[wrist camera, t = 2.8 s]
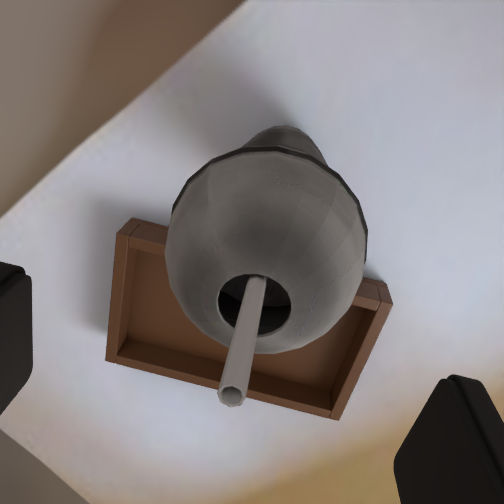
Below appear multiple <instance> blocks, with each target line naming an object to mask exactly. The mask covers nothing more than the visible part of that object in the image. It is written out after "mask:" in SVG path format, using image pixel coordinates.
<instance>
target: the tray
mask: <svg viewBox="0 0 504 504" xmlns="http://www.w3.org/2000/svg"><path fill="white" fill-rule="evenodd" d="M168 229H169V227H167V226H163V225H159V224H155V223H151V222H147V221H143V220H140V219H136V218H131V219H130V220H129V221H128V222H127V223H126V224H125V225H124V226H123V227H122V228H121V229H120V230H119V231H118V232H117V234H116V245H115V257H114V268H113V279H112V290H111V301H110V313H109V324H108V335H107V346H106V358H105V361H108V362H112V363H116V364H119V365H123V366H127V367H131V368H135V369H139V370H143V371H147V372H150V373H154V374H158V375H162V376H166V377H170V378H174V379H178V380H182V381H185V382H189V383H193V384H197V385H201V386H205V387H209V388H213V389H217V390H218V388H219V385H220V381H221V377H222V374H223V370H224V366H225V363H226V359H227V355H228V352H229V348H228V347H226V346H224V345H223V344H221V343H219V342H217V341H216V340H214V339H212V338H210V337H209V336H207V335H205V334H204V333H203V332H202V331H201V330H200V329H199V328H198V327H197V326H196V325H195V324H194V323H193V322H192V321H191V320H190V319H189V318H188V317H187V316H186V315H185V314H184V312H183V310H182V308H181V306H180V304H179V302H178V301H177V299H176V297H175V295H174V293H173V291H172V289H171V288H170V283H169V278H168V272H167V266H166V260H165V254H164V252H165V246H166V241H167V235H168ZM392 306H393V302H392V299H391V296H390V293H389V290H388V287H387V284H386V283H383V282H379V281H375V280H371V279H368V278H364V277H362V281H361V283H360V285H359V287H358V290H357V292H356V294H355V297H354V299H353V301H352V303H351V305H350V307H349V309H348V310H347V312H346V313H345V314H344V315H343V316H342V317H341V318H340V319H339V320H338V321H337V323H336V324H335V325H334V326H333V327H332V328H331V329H330V330H329V331H328V332H327V333H325V334H324V335H323V336H321V337H319V338H317V339H316V340H314V341H312V342H310V343H308V344H307V345H305V346H303V347H301V348H297V349H293V350H289V351H285V352H280V353H276V354H254V355H253V361H252V366H251V372H250V377H249V383H248V389H247V394H246V397H248V398H251V399H255V400H259V401H263V402H267V403H271V404H275V405H279V406H283V407H286V408H290V409H294V410H298V411H302V412H306V413H310V414H314V415H317V416H321V417H325V418H330V419H333V420H337V421H339V419H340V417H341V415H342V413H343V411H344V409H345V407H346V404H347V402H348V400H349V398H350V396H351V394H352V392H353V389H354V387H355V385H356V383H357V381H358V379H359V377H360V374H361V372H362V370H363V368H364V366H365V364H366V362H367V359H368V357H369V355H370V353H371V351H372V349H373V347H374V344H375V342H376V340H377V338H378V336H379V334H380V332H381V330H382V327H383V325H384V323H385V321H386V319H387V317H388V315H389V312H390V310H391V308H392Z"/></svg>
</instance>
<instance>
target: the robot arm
mask: <svg viewBox="0 0 504 504" xmlns="http://www.w3.org/2000/svg"><path fill="white" fill-rule="evenodd" d="M32 368H33V342H32V281H31V277H30V276H28V275H26V274H25V270H24V268H22V267H20V266H16V265H12V264H8V263H4V262H0V415H1V414H2V412H3V411H4V410H5V409H6V407H7V406H8V405H9V404H10V402H11V401H12V400H13V399H14V397H15V396H16V395H17V394H18V392H19V391H20V390H21V388H22V387H23V386H24V385H25V383H26V382H27V381H28V379H29V377H30V375H31V372H32ZM394 474H395V479H396V483H397V488H398V492H399V497H400V501H401V504H504V423H503V421H502V419H501V417H500V415H499V413H498V411H497V410H496V408H495V406H494V404H493V402H492V400H491V398H490V396H489V395H488V393H487V391H486V389H485V387H484V385H483V384H482V383H481V382H480V381H478V380H475V379H471V378H467V377H463V376H459V375H450V376H449V377H448V378H447V379H441V380H440V381H439V382H438V384H437V385H436V387H435V389H434V390H433V392H432V394H431V396H430V397H429V399H428V401H427V402H426V404H425V406H424V408H423V409H422V411H421V413H420V414H419V416H418V418H417V419H416V421H415V423H414V425H413V426H412V428H411V430H410V431H409V433H408V435H407V437H406V438H405V440H404V442H403V443H402V445H401V447H400V448H399V450H398V452H397V454H396V456H395V459H394Z"/></svg>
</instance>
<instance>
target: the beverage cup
mask: <svg viewBox="0 0 504 504" xmlns="http://www.w3.org/2000/svg"><path fill="white" fill-rule="evenodd" d="M367 237H368V228H367V225H366V222H365V219H364V215H363V212H362V209H361V206H360V202H359V200H358V199H357V197H356V196H355V195H354V193H353V192H352V191H351V189H350V188H349V187H348V185H347V184H346V183H345V181H344V180H343V179H342V177H341V176H340V175H339V174H338V173H337V172H335V171H334V170H332V169H331V168H329V167H328V165H327V163H326V161H325V159H324V158H323V156H322V154H321V152H320V150H319V149H318V147H317V146H316V145H315V143H314V142H313V141H312V139H310V137H309V136H308V135H306V134H305V133H303V132H302V131H300V130H299V129H296V128H293V127H289V126H274V127H272V128H269V129H267V130H264V131H262V132H260V133H258V134H257V135H256V136H255V137H253V138H252V139H251V140H250V141H249V142H247V143H246V144H245V145H244V146H243V147H242V148H240V149H237V150H234V151H232V152H229V153H227V154H224V155H221V156H219V157H216V158H213V159H211V160H210V161H209V162H208V163H207V164H205V165H204V166H203V167H202V168H201V169H199V170H198V171H197V172H196V173H195V174H194V175H192V176H191V177H190V178H189V179H188V180H187V182H186V183H185V185H184V187H183V189H182V190H181V192H180V194H179V195H178V197H177V199H176V201H175V202H174V204H173V208H172V214H171V218H170V223H169V229H168V235H167V241H166V246H165V252H164V254H165V260H166V266H167V272H168V278H169V283H170V288H171V289H172V291H173V293H174V295H175V297H176V299H177V301H178V302H179V304H180V306H181V308H182V310H183V312H184V314H185V315H186V316H187V317H188V318H189V319H190V320H191V321H192V322H193V323H194V324H195V325H196V326H197V327H198V328H199V329H200V330H201V331H202V332H203V333H204V334H205V335H207V336H209V337H210V338H212V339H214V340H216V341H217V342H219V343H221V344H223V345H224V346H226V347H228V348H229V352H228V355H227V359H226V363H225V366H224V370H223V374H222V377H221V381H220V385H219V388H218V392H217V394H218V397H219V399H220V402H221V403H223V404H225V405H227V406H229V407H234V406H240V405H241V404H242V403H243V401H244V400H245V398H246V394H247V389H248V383H249V377H250V372H251V366H252V361H253V355H254V354H276V353H280V352H285V351H289V350H293V349H297V348H301V347H303V346H305V345H307V344H308V343H310V342H312V341H314V340H316V339H317V338H319V337H321V336H323V335H324V334H325V333H327V332H328V331H329V330H330V329H331V328H332V327H333V326H334V325H335V324H336V323H337V321H338V320H339V319H340V318H341V317H342V316H343V315H344V314H345V313H346V312H347V310H348V309H349V307H350V305H351V303H352V301H353V299H354V297H355V294H356V292H357V290H358V287H359V285H360V283H361V281H362V277H363V273H364V264H365V261H366V254H367Z"/></svg>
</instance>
